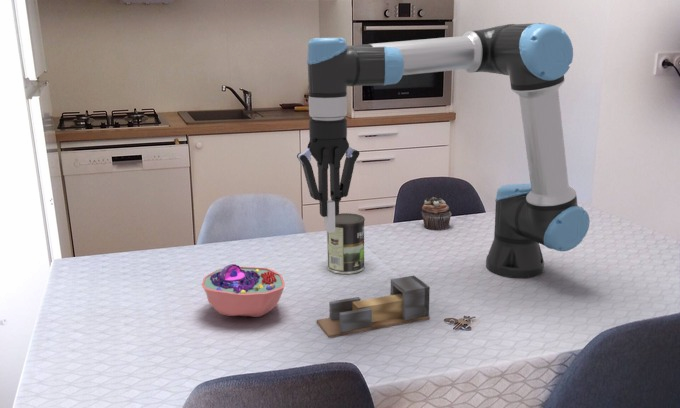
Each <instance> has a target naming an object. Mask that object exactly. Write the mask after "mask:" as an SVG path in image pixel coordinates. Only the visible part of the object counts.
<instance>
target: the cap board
mask: <svg viewBox="0 0 680 408" xmlns="http://www.w3.org/2000/svg"><path fill="white" fill-rule="evenodd" d="M401 293H403V310H402V317H398V318H393V319H388V320H382V321H377V322H372V309H370V308H364V309H358V310H353V311H352V302H354V301H360V300H362V299H361V297H359V296H355V297H349V298H344V299H338V300H333V301H332V300H331V301H329V307H328V308H329V317H326V318H320V319H317V320H316V324H317V325H318V326H319V327H320V329H321V330H322V332H324V334H325V335H326V336H327V337H328V338H329V339H330V338H336V337H341V336H348V335H353V334H357V333H362V332H368V331H374V330H377V329H383V328H388V327H394V326H398V325H399V326H400V325H405V324H410V323H416V322H421V321H425V320H426V321H427V320H430V286H429V285H428V284H426V283H425V282H424V281H422V280H421V279H419V278H418V277H417V276H416V275H411V276H410V275H409V276H404V277H398V278H397V277H396V278H392V279H390V295H395V294H401Z"/></svg>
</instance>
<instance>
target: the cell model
mask: <svg viewBox="0 0 680 408" xmlns="http://www.w3.org/2000/svg"><path fill="white" fill-rule="evenodd" d="M201 286H202V287H201V288H203V290H204V293H205V295H206V298H207V302H208V303H209V305H211V307H212V308H213V309H214V310H215V311H216V312H217V313H219V314H220V315H223V316H228V317H240V316H241V317H252V318H258V317H259V318H260V317H263V316H264V315H266V314H268V313H269V312H270V311H272V310H273V309H274V308H275V307H276V306H277V305H278V304H279V302H280V299H281V297H282V295H283V291H284V288H285V286H286V285H285V280H284V277H283V275H282V274H281V273H279V272H277V271H275V270H273V269H271V268H268V267H255V266H241V265H239V264H238V265H237V264H234V263H232V264H228V265H226V266H224V267H223V268H219V269H217V270H214V271H212V272H211V273H208V274H207V275H205V276H204V277H203V279H202V282H201Z"/></svg>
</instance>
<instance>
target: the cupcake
mask: <svg viewBox="0 0 680 408" xmlns="http://www.w3.org/2000/svg"><path fill="white" fill-rule="evenodd" d="M421 214H422V220H423V226H424V228H425V229H427V230H429V231H430V230H431V231H444V230H448V229H449V227H450V221H451V216H452V212H451V211H450V205H448V204H447V203H446V201H445V200H443V198H442V197H440V196H439V197H437V196H436V195H433V196H432V197H431V198H425V199H424V204H423V205H422V207H421Z"/></svg>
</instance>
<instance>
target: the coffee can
mask: <svg viewBox="0 0 680 408" xmlns="http://www.w3.org/2000/svg"><path fill="white" fill-rule="evenodd" d="M365 221H366V219H365V217H364V216H363V215H360V214H357V213H350V212H347V213H343V212H342V213H339V214H338V215H335V232H332V233H328V232H327V231H326V244H327V245H326V247H327V248H326V249H327V251H326V253H327V266H326V267H327V270H328V271H329V272H331V273H333V274H334V273H335V274H338V275H353V274H358V273H360V272H362V271H364V269H365Z"/></svg>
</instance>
